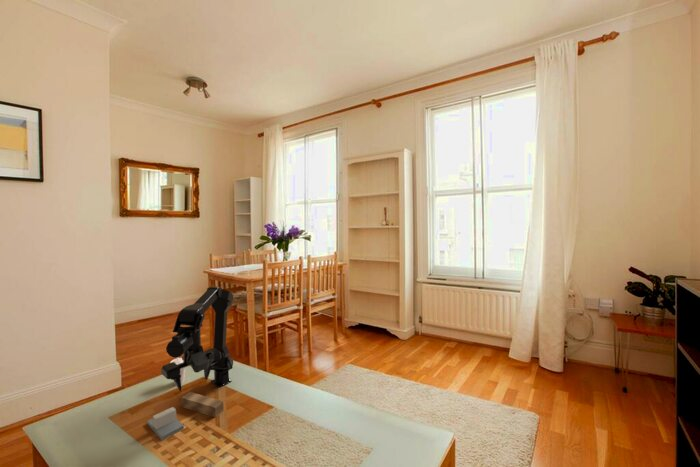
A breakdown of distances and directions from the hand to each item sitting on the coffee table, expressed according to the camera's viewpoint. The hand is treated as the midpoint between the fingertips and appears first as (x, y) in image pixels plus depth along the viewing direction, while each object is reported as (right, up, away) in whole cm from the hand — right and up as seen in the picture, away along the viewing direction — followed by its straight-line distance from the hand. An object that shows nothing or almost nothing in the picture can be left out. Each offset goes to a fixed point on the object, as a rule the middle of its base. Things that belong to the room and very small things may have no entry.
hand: (193, 384), depth 114 cm
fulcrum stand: (-8, -12, -4) cm, 15 cm away
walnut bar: (+1, -12, +5) cm, 13 cm away
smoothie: (-17, -10, +22) cm, 30 cm away
